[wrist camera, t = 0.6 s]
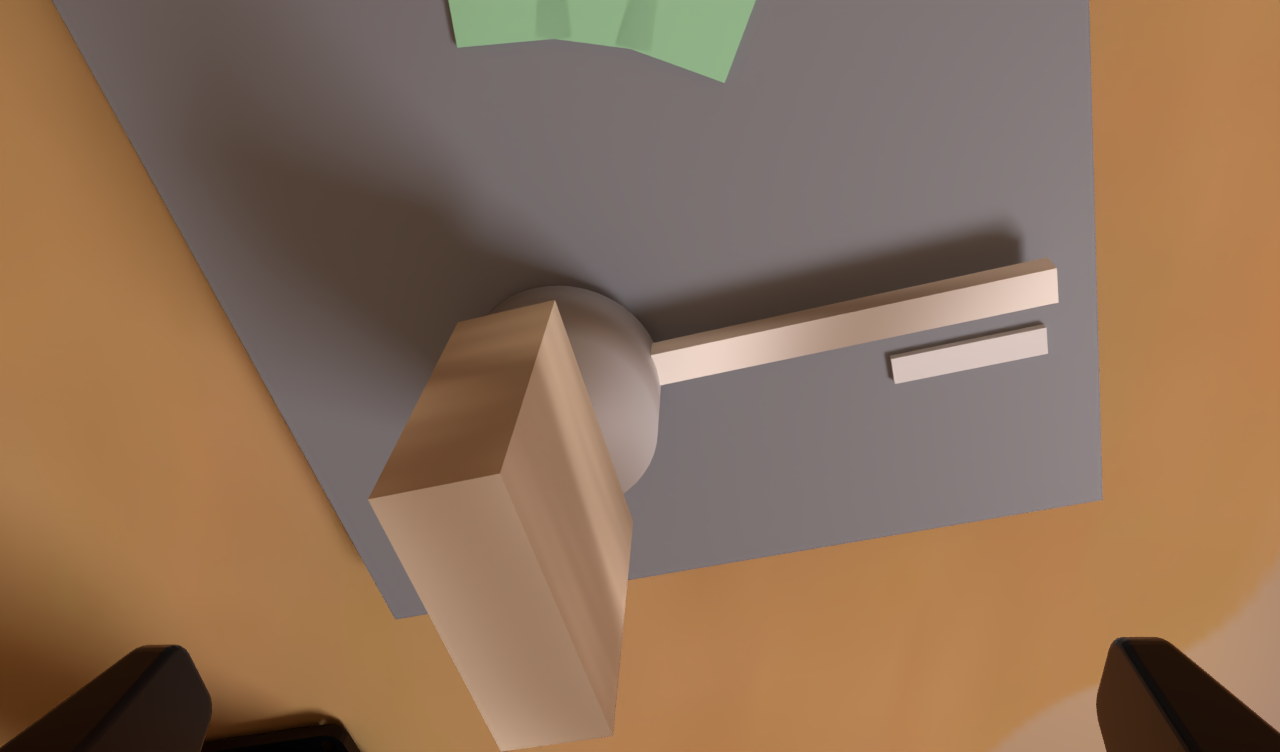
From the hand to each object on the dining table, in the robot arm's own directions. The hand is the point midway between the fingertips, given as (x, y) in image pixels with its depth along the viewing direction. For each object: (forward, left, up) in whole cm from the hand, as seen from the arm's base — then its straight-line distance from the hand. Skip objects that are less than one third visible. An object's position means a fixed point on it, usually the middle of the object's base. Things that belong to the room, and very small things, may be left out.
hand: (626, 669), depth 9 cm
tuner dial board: (-1, +2, -12) cm, 12 cm away
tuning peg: (+1, -2, -10) cm, 10 cm away
